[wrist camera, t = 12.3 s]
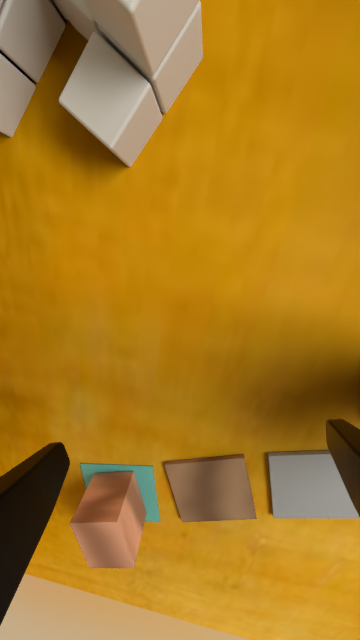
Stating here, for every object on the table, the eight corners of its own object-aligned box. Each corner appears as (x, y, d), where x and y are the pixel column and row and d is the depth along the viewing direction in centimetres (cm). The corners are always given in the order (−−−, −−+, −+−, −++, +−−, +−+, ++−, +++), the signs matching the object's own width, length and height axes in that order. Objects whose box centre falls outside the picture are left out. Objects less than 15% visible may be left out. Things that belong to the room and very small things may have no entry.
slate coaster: (355, 444, 23) (361, 452, 22) (353, 507, 25) (358, 518, 24) (266, 447, 24) (268, 456, 23) (271, 508, 26) (273, 518, 26)
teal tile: (154, 458, 27) (152, 466, 26) (161, 513, 29) (159, 522, 28) (84, 456, 28) (79, 464, 27) (96, 509, 30) (93, 518, 29)
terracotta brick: (133, 471, 26) (117, 521, 21) (146, 512, 28) (134, 568, 23) (94, 473, 27) (69, 523, 22) (109, 513, 28) (89, 567, 24)
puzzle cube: (-32, 100, 18) (-207, -4, 10) (50, -99, 14) (-126, -477, 7) (100, 215, 19) (29, 197, 12) (204, 58, 16) (199, -114, 8)
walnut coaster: (242, 449, 25) (244, 457, 24) (255, 509, 27) (256, 518, 26) (165, 456, 26) (164, 465, 25) (183, 512, 28) (182, 522, 27)
